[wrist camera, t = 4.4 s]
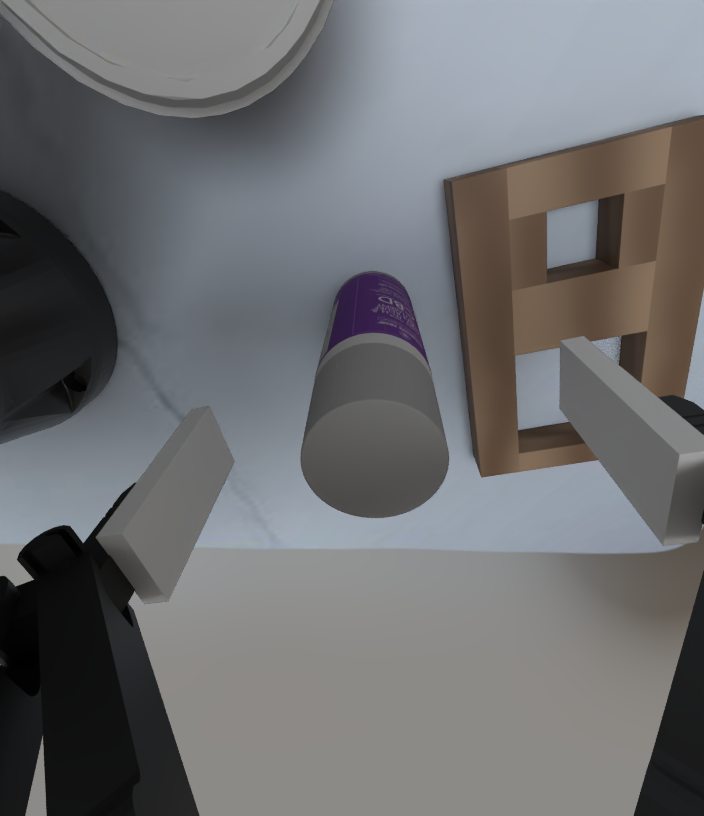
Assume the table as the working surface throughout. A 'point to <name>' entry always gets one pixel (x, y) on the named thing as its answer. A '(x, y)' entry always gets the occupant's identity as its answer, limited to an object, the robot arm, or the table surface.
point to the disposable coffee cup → (173, 47)
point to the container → (374, 406)
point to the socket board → (577, 276)
